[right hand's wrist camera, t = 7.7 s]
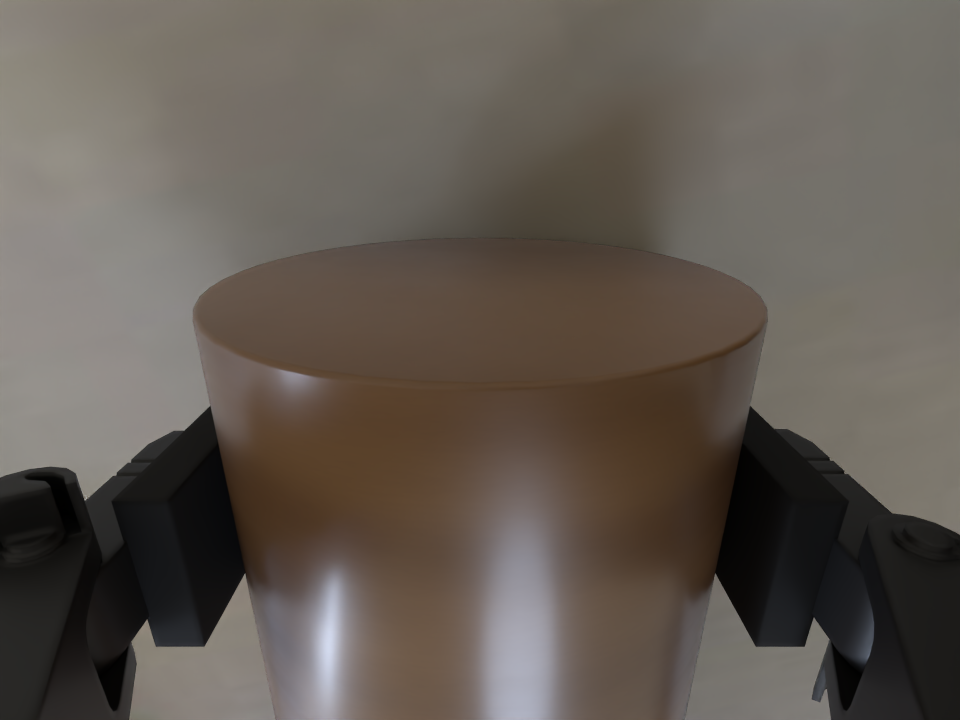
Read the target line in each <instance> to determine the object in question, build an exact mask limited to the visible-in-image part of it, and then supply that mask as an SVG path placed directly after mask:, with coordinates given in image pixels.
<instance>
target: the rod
mask: <svg viewBox="0 0 960 720" xmlns="http://www.w3.org/2000/svg"><path fill="white" fill-rule="evenodd" d="M767 322H768V318H767V307H766V305H765V303H764V302H763V300H762V298H761V296H759V295H758V294H757V293H756V292H755V291H754V290H753V289H752V288H750V287H749V286H747V285H746V284H744V283H742V282H741V281H739V280H737V279H735V278H733V277H731V276H728V275H726V274H724V273H722V272H719V271H717V270H714V269H711V268H708V267H705V266H703V265H700V264H696V263H693V262H689V261H686V260H682V259H678V258H674V257H669V256H665V255H661V254H655V253H650V252H645V251H640V250H633V249H627V248H620V247H613V246H605V245H597V244H588V243H578V242H567V241H553V240H536V239H511V238H449V239H424V240H407V241H394V242H382V243H372V244H363V245H355V246H347V247H340V248H333V249H327V250H321V251H315V252H310V253H305V254H300V255H295V256H291V257H287V258H282V259H278V260H275V261H271V262H268V263H264V264H261V265H258V266H255V267H252V268H249V269H246V270H243V271H241V272H239V273H236V274H234V275H232V276H230V277H228V278H225V279H223V280H222V281H220V282H218V283H217V284H215V285H213V286H212V287H210V288H209V289H208V290H207V291H205V292H204V293H203V294H202V295H201V296H200V297H199V299H198V301H197V302H196V304H195V306H194V309H193V324H194V329H195V334H196V338H197V343H198V348H199V353H200V358H201V362H202V367H203V372H204V377H205V382H206V386H207V391H208V396H209V401H210V406H211V410H212V415H213V420H214V425H215V430H216V434H217V439H218V444H219V449H220V454H221V458H222V463H223V468H224V473H225V478H226V482H227V487H228V492H229V497H230V502H231V506H232V511H233V516H234V521H235V526H236V530H237V535H238V540H239V545H240V550H241V555H242V559H243V564H244V569H245V574H246V579H247V583H248V588H249V593H250V598H251V603H252V607H253V612H254V617H255V622H256V627H257V631H258V636H259V641H260V646H261V651H262V655H263V660H264V665H265V670H266V675H267V679H268V684H269V689H270V694H271V699H272V703H273V708H274V713H275V718H276V720H685V715H686V710H687V705H688V700H689V696H690V691H691V686H692V681H693V676H694V672H695V667H696V662H697V657H698V652H699V648H700V643H701V638H702V633H703V629H704V624H705V619H706V614H707V609H708V605H709V600H710V595H711V590H712V585H713V581H714V576H715V571H716V566H717V561H718V557H719V552H720V547H721V542H722V537H723V533H724V528H725V523H726V518H727V513H728V509H729V504H730V499H731V494H732V489H733V485H734V480H735V475H736V470H737V465H738V461H739V456H740V451H741V446H742V441H743V437H744V432H745V427H746V422H747V417H748V413H749V408H750V403H751V398H752V393H753V389H754V384H755V379H756V374H757V370H758V365H759V360H760V355H761V350H762V346H763V341H764V336H765V331H766V326H767Z"/></svg>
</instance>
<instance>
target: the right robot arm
mask: <svg viewBox="0 0 960 720" xmlns="http://www.w3.org/2000/svg"><path fill="white" fill-rule="evenodd" d="M715 573H716V575H717V577H718V579H719V581H720V582H721V584H722V586H723V588H724V590H725V591H726V593H727V595H728V597H729V599H730V600H731V602H732V604H733V606H734V608H735V610H736V611H737V613H738V615H739V617H740V619H741V620H742V622H743V624H744V626H745V628H746V630H747V631H748V633H749V635H750V637H751V639H752V640H753V642H754V644H755V646H756V647H805V643H806V640H807V637H808V634H809V630H810V627H811V624H812V621H813V617H814V618H815V619H816V621H817V622H818V623H819V625H820V626H821V628H822V629H823V631H824V632H825V633H826V635H827V636H828V638H829V639H830V640H829V643H828V646H827V649H826V652H825V655H824V658H823V661H822V664H821V667H820V670H819V673H818V676H817V679H816V682H815V686H814V689H813V695H812V700H815V701H818V702H820V701H821V698H822V696H823V693H824V690H825V689H827V692H828V699H829V707H830V714H831V720H960V535H959V534H957V533H955V532H953V531H951V530H949V529H947V528H945V527H943V526H941V525H938V524H936V523H934V522H930V521H927V520H924V519H920V518H917V517H914V516H908V515H900V514H892V513H891V512H890V511H889V510H888V509H887V508H885V507H884V506H883V505H882V504H881V503H880V502H879V501H878V500H876V499H875V498H874V497H873V496H872V495H871V494H870V493H869V492H867V491H866V490H865V489H864V488H863V487H862V486H861V485H860V484H858V483H857V482H856V481H855V480H854V479H853V478H852V477H851V476H850V475H848V474H844V470H843V469H842V468H841V467H839V466H838V465H837V464H836V463H835V462H834V461H830V458H829V457H828V456H827V455H826V454H825V453H824V452H823V451H821V450H820V449H819V448H818V447H817V446H816V445H815V444H814V443H812V442H811V441H809V440H807V439H805V438H803V437H801V436H799V435H797V434H795V433H794V432H792V431H790V430H788V429H774V428H773V427H771V426H770V425H769V424H768V423H767V422H766V421H765V420H764V419H763V418H762V417H761V416H760V415H759V414H758V413H757V412H756V411H755V410H754V409H753V408H752V407H751V406H750V408H749V413H748V417H747V422H746V427H745V432H744V437H743V441H742V446H741V451H740V456H739V461H738V465H737V470H736V475H735V480H734V485H733V489H732V494H731V499H730V504H729V509H728V513H727V518H726V523H725V528H724V533H723V537H722V542H721V547H720V552H719V557H718V561H717V566H716V571H715ZM244 574H245V569H244V564H243V559H242V555H241V550H240V545H239V540H238V535H237V530H236V526H235V521H234V516H233V511H232V506H231V502H230V497H229V492H228V487H227V482H226V478H225V473H224V468H223V463H222V458H221V454H220V449H219V444H218V439H217V434H216V430H215V425H214V420H213V415H212V410H211V406H210V407H209V408H208V409H207V410H206V411H205V412H204V413H202V414H201V415H200V416H199V417H198V418H197V419H196V420H195V421H194V422H193V423H192V424H191V425H190V426H189V427H188V428H187V429H186V430H185V431H173V432H171V433H169V434H167V435H165V436H163V437H161V438H159V439H158V440H156V441H154V442H152V443H150V444H148V445H147V446H146V447H145V448H144V449H143V450H142V451H141V452H139V453H138V454H137V455H136V456H135V457H134V458H133V459H132V460H131V463H127V464H126V465H125V466H124V467H123V468H122V469H120V470H119V471H118V472H117V476H113V477H112V478H110V479H109V480H108V481H107V482H106V483H105V484H104V485H103V486H102V487H100V488H99V489H98V490H97V491H96V492H95V493H94V494H93V495H91V496H90V497H89V498H88V499H87V500H86V501H85V500H84V497H83V494H82V491H81V488H80V485H79V482H78V479H77V476H76V473H74V472H72V471H71V470H69V469H67V468H59V467H44V468H36V469H29V470H25V471H21V472H17V473H14V474H10V475H6V476H4V477H1V478H0V720H129V716H130V709H131V701H132V694H133V687H134V679H135V672H136V665H137V664H136V658H135V652H134V649H133V646H132V643H131V641H132V640H133V638H134V637H135V635H136V634H137V633H138V631H139V630H140V628H141V627H142V626H143V624H144V623H145V621H146V620H147V619H148V623H149V626H150V629H151V632H152V636H153V639H154V642H155V645H156V647H204V646H205V645H206V643H207V641H208V639H209V637H210V636H211V634H212V632H213V630H214V628H215V627H216V625H217V623H218V621H219V619H220V617H221V616H222V614H223V612H224V610H225V608H226V607H227V605H228V603H229V601H230V599H231V598H232V596H233V594H234V592H235V590H236V588H237V587H238V585H239V583H240V581H241V579H242V578H243V576H244Z"/></svg>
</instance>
